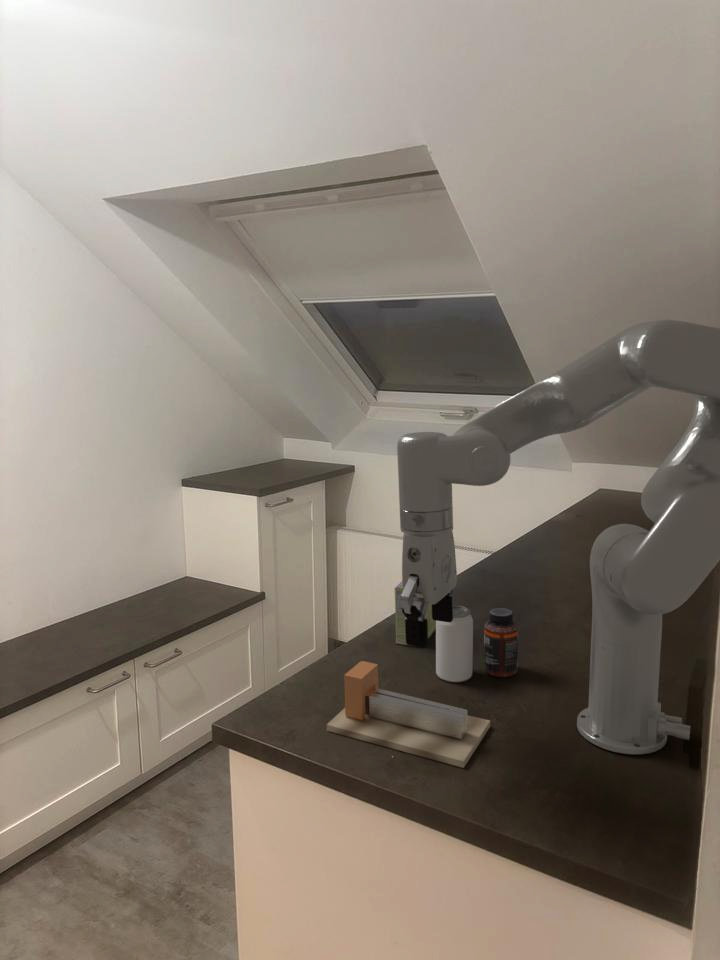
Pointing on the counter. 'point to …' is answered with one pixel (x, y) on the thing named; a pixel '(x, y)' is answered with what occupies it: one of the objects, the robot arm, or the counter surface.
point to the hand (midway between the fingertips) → (430, 632)
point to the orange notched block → (359, 688)
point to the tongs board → (412, 736)
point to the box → (401, 621)
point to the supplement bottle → (501, 644)
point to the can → (455, 646)
